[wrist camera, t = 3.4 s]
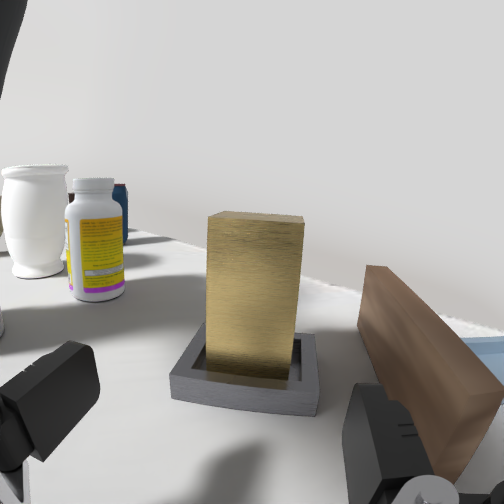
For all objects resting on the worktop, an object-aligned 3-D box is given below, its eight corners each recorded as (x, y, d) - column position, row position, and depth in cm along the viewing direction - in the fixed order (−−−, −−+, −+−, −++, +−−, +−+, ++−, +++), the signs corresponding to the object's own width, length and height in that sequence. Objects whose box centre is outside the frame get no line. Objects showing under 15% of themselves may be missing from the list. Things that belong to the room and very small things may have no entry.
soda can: (131, 241, 64) (131, 183, 62) (123, 248, 57) (123, 183, 55) (100, 240, 63) (100, 184, 61) (90, 247, 56) (89, 184, 54)
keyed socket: (479, 408, 15) (488, 386, 15) (442, 357, 22) (447, 338, 22) (551, 392, 14) (560, 372, 14) (510, 352, 21) (516, 335, 21)
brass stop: (206, 379, 19) (208, 216, 17) (220, 350, 23) (224, 211, 21) (286, 389, 18) (304, 223, 16) (289, 357, 22) (302, 216, 20)
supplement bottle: (136, 290, 36) (135, 177, 33) (99, 308, 29) (94, 177, 27) (96, 281, 38) (93, 178, 35) (59, 295, 31) (53, 179, 29)
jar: (34, 286, 33) (29, 163, 30) (-6, 275, 35) (-11, 169, 32) (84, 267, 43) (83, 164, 40) (41, 259, 45) (38, 168, 42)
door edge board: (416, 493, 10) (470, 395, 9) (356, 325, 29) (366, 265, 28) (451, 487, 10) (507, 390, 8) (376, 326, 29) (386, 266, 28)
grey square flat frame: (171, 398, 17) (169, 374, 17) (203, 343, 25) (203, 323, 24) (314, 416, 16) (320, 392, 16) (311, 354, 24) (314, 334, 23)
